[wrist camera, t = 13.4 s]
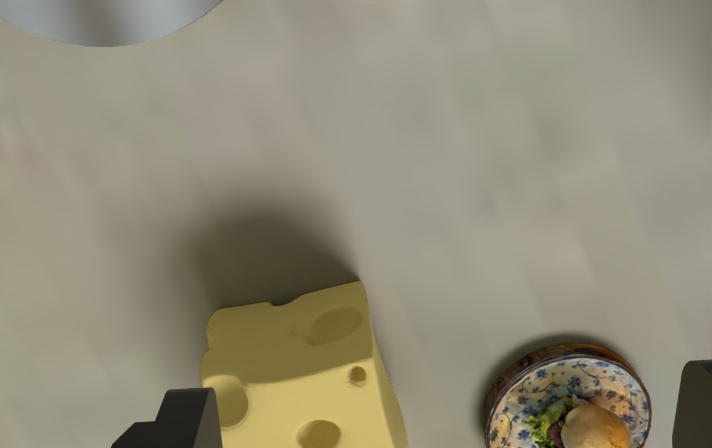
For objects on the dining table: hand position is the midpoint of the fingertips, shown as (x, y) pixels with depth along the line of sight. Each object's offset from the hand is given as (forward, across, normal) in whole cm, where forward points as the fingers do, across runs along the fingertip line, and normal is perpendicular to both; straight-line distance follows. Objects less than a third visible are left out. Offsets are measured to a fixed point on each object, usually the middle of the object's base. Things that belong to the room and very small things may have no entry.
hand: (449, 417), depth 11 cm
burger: (+31, -14, +23) cm, 41 cm away
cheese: (+30, +4, +17) cm, 35 cm away
